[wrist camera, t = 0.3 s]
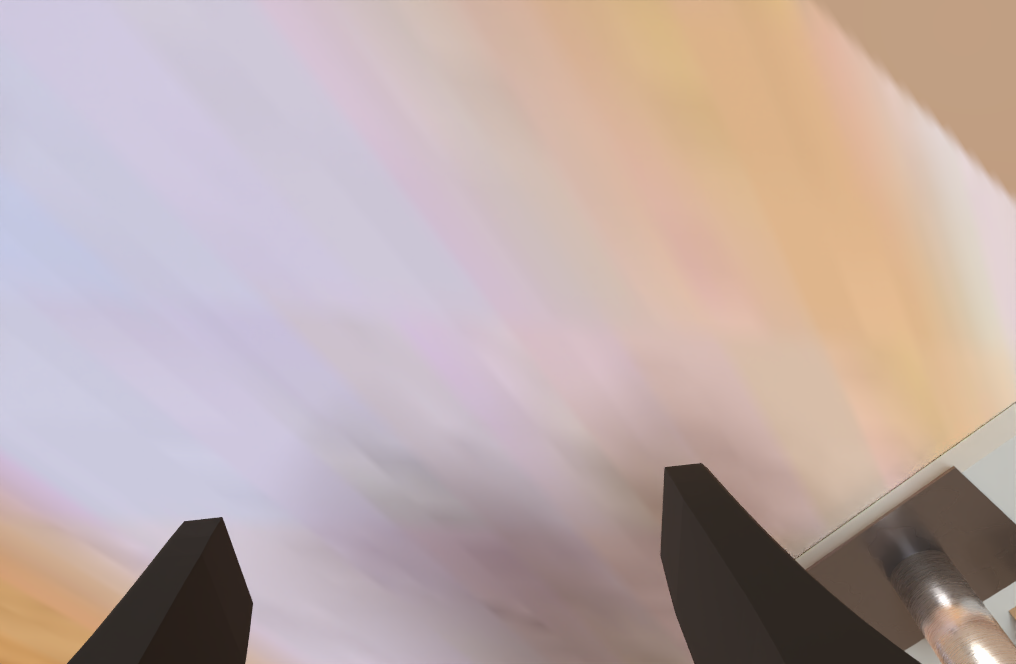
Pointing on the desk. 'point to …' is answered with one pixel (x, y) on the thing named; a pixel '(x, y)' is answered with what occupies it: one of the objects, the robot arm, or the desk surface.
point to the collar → (1013, 612)
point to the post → (931, 572)
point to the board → (990, 467)
